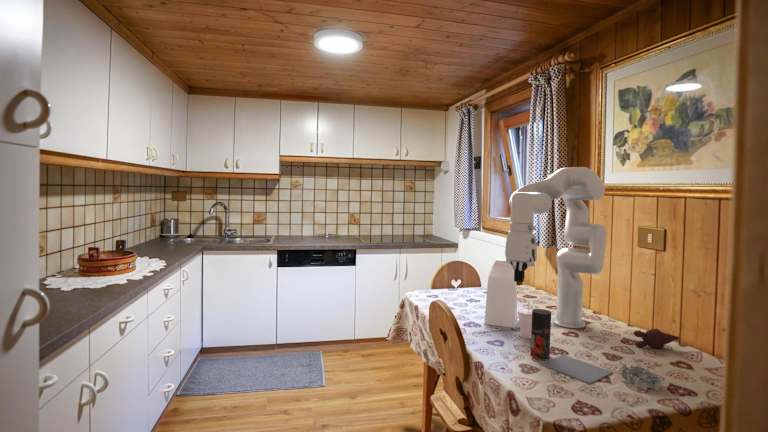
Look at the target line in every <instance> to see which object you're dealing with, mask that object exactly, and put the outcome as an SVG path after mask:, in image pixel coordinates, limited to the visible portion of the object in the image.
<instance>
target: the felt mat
mask: <svg viewBox="0 0 768 432" xmlns="http://www.w3.org/2000/svg"><path fill="white" fill-rule="evenodd" d="M539 365H540V366H543V367H545V368H548V369H551V370H553V371H556V372H558V373H560V374H563V375H565V376H568V377H570V378H572V379H573V378H574V379H576V380H578V381H580V382H584V383H586V384H588V385H591V384H593V383H596V382H598V381H600V380H602V379H604V378H606V377H608V376H610V375H612V374H613V373H614V372H613V371H611V370H608V369H605V368H602V367H599V366H597V365H594V364H591V363H588V362H585V361H583V360H580V359H578V358H574V357H572V356H568V355H566V354H561V355H558V356H556V357H552V358H549V359H547V360H544V361H542V362H539Z"/></svg>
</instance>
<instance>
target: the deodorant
mask: <svg viewBox="0 0 768 432" xmlns="http://www.w3.org/2000/svg"><path fill="white" fill-rule="evenodd" d="M531 310H532V327H531V338H530V351H529V352H530V354H529V355H530V357H532V358H533V359H536V360H540V361H542V360H544V361H547V360H550V356H551V355H550V353H551V352H550V350H551V349H550V348H551V330H552V329H551V328H552V312H551V311H550V310H548V309H542V308H535V309H531Z"/></svg>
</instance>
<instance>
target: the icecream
mask: <svg viewBox="0 0 768 432" xmlns="http://www.w3.org/2000/svg"><path fill="white" fill-rule="evenodd" d="M633 335H634V336H635V337H637V338H641V339H642V340H639V341H636V343H635V347H637V348H645V347H647V346H648V347H651V348H653V349H654V348H655V349H663V348H664V346H666V345H667V344H670V343H672V342H674V341H678V340H680V338H681V337H679V336H678V335H677V336H676V335H673V334H670V333H666V332H663V331H661V330H659V329H658V328H652V329H648V330H646V331H645V332H644V331H641V330H635V331H634V332H633Z"/></svg>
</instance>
